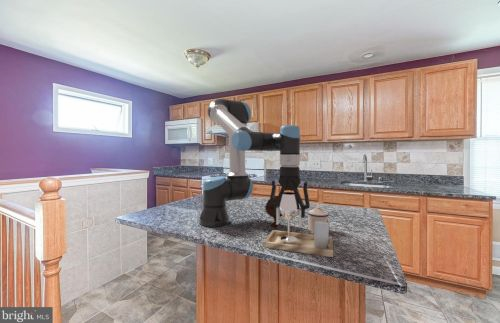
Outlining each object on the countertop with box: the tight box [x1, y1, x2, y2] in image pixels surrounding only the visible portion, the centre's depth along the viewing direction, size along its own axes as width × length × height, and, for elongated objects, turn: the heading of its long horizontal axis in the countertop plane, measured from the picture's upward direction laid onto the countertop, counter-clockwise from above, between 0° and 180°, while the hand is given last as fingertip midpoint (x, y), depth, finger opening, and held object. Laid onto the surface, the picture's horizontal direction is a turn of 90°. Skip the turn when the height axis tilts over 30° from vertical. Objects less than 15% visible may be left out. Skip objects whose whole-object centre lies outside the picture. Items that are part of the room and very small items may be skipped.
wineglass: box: [278, 191, 301, 243], centre depth 86 cm, size 8×8×18 cm
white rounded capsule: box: [313, 221, 330, 250], centre depth 82 cm, size 5×5×9 cm
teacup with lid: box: [307, 205, 330, 233], centre depth 103 cm, size 12×9×12 cm
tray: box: [263, 229, 334, 258], centre depth 85 cm, size 24×14×3 cm, turn 71°
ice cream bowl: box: [264, 195, 284, 228], centre depth 111 cm, size 11×11×15 cm
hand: (288, 224), depth 86 cm, fingers closed on wineglass, 8 cm apart
